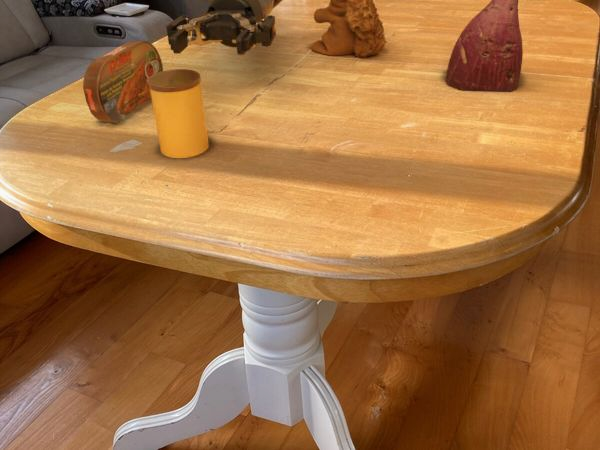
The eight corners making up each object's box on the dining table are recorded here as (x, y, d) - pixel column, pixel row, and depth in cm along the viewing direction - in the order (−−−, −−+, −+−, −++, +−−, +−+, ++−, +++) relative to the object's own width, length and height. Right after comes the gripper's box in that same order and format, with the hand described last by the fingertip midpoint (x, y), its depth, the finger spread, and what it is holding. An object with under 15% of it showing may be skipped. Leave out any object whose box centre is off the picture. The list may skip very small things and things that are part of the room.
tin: (109, 134, 74) (94, 68, 69) (88, 131, 75) (72, 67, 70) (169, 91, 86) (159, 33, 81) (150, 90, 86) (139, 32, 82)
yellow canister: (153, 161, 67) (138, 86, 62) (170, 140, 72) (158, 68, 67) (201, 164, 66) (190, 87, 61) (216, 142, 71) (207, 69, 66)
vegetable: (497, 89, 90) (534, -13, 84) (525, 106, 81) (568, -7, 75) (433, 76, 89) (465, -30, 82) (453, 92, 79) (491, -26, 73)
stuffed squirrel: (348, 37, 105) (348, -42, 98) (403, 55, 96) (408, -31, 88) (303, 48, 101) (300, -34, 93) (357, 68, 91) (358, -21, 84)
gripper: (190, -13, 86) (148, 15, 73) (284, -13, 84) (259, 16, 71) (196, 38, 90) (158, 74, 77) (287, 39, 88) (263, 76, 75)
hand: (206, 46), depth 74 cm, fingers open, 8 cm apart
